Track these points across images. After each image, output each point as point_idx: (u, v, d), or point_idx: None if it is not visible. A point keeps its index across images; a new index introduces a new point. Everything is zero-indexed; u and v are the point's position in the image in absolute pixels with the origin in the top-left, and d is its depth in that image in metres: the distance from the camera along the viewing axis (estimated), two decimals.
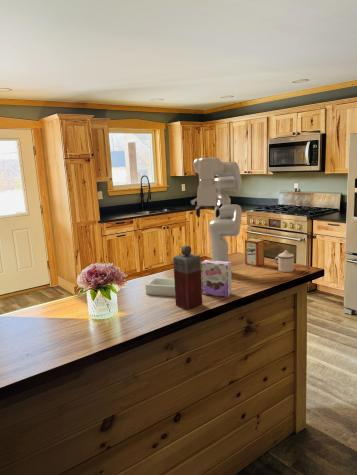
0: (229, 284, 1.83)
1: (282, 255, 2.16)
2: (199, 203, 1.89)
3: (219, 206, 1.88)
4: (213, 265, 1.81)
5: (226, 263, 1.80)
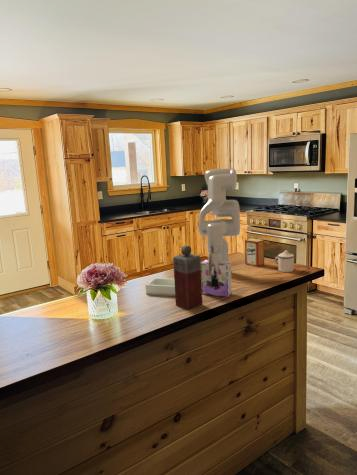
0: (229, 284, 1.83)
1: (282, 255, 2.16)
2: (218, 270, 1.80)
3: None
4: None
5: (226, 263, 1.80)
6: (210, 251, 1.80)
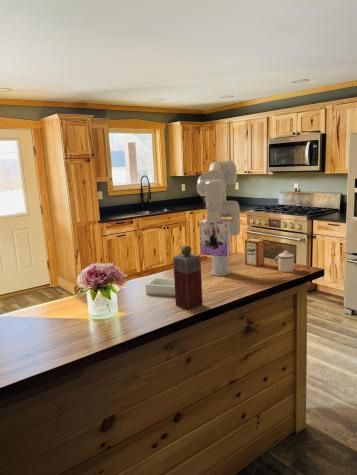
0: (228, 243, 1.79)
1: (282, 255, 2.16)
2: None
3: None
4: None
5: (225, 222, 1.77)
6: (209, 209, 1.76)
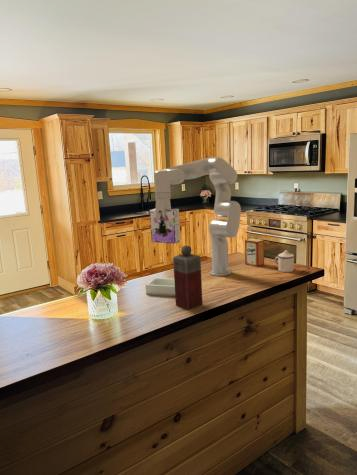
0: (177, 231, 1.85)
1: (282, 255, 2.16)
2: (165, 217, 1.82)
3: None
4: None
5: (173, 209, 1.83)
6: (157, 198, 1.82)
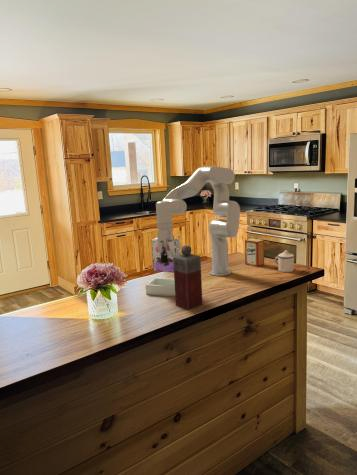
0: None
1: (282, 255, 2.16)
2: (167, 246, 1.85)
3: None
4: None
5: (175, 239, 1.85)
6: (159, 228, 1.85)
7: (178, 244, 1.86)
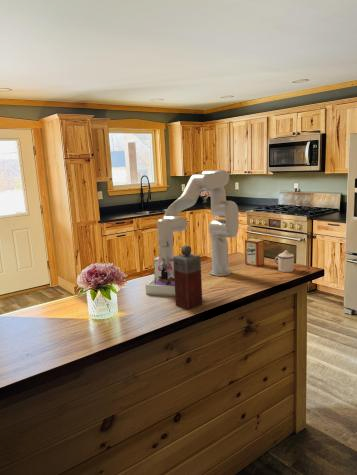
0: None
1: (282, 255, 2.16)
2: (168, 264, 1.87)
3: None
4: None
5: None
6: (160, 245, 1.87)
7: None
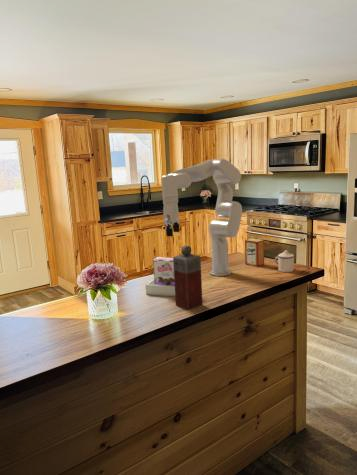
0: None
1: (282, 255, 2.16)
2: (173, 221, 1.84)
3: (178, 221, 1.94)
4: (164, 261, 1.88)
5: None
6: (165, 202, 1.84)
7: None
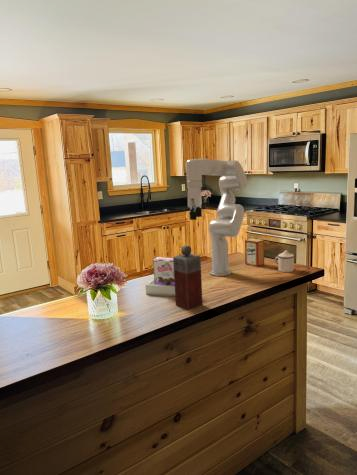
0: None
1: (282, 255, 2.16)
2: (197, 204, 1.88)
3: (200, 206, 1.97)
4: (164, 261, 1.88)
5: None
6: (189, 186, 1.87)
7: None
